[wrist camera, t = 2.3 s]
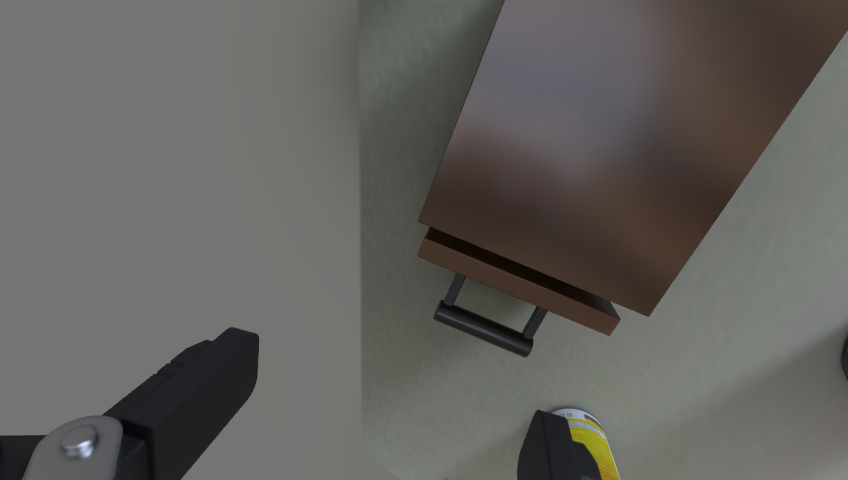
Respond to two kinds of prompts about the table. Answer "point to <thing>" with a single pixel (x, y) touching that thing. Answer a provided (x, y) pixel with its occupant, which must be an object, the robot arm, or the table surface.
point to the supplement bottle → (591, 440)
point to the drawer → (513, 282)
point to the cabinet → (621, 131)
